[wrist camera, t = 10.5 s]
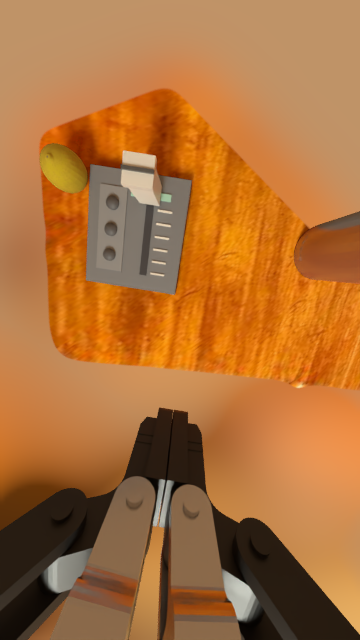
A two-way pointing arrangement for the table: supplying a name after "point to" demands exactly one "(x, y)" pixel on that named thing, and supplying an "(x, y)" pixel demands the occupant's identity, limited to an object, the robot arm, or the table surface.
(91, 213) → the console
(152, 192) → the fader knob
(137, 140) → the table surface
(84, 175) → the lemon
